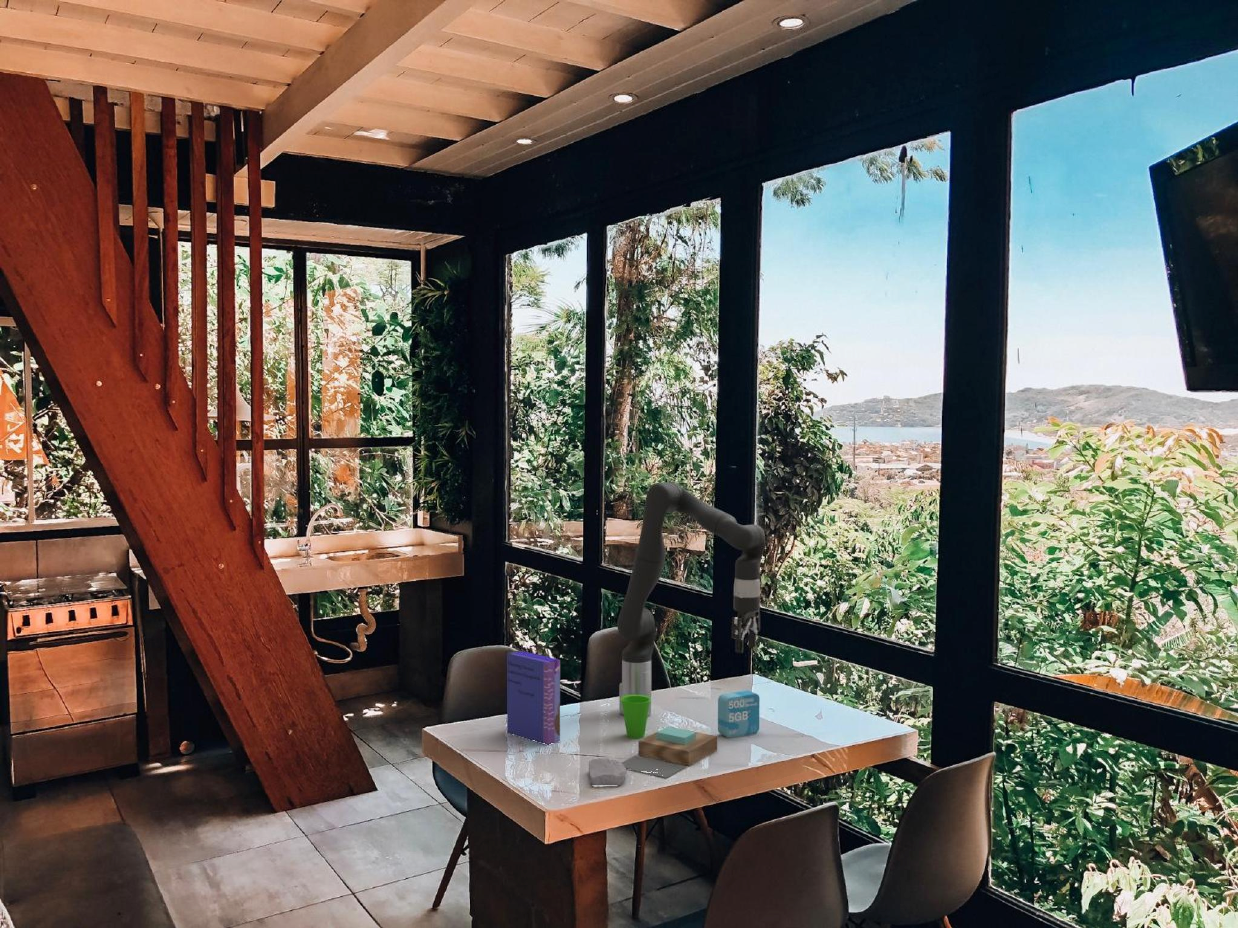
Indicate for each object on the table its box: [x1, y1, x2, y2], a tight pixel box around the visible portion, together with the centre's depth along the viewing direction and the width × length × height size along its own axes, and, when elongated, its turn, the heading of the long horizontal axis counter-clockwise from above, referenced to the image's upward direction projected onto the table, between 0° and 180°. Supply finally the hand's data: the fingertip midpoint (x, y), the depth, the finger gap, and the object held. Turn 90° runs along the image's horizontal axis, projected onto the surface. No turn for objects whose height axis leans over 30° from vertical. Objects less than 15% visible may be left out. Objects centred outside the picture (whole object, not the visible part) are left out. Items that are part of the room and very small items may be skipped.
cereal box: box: [506, 650, 561, 746], centre depth 288 cm, size 17×5×24 cm, turn 48°
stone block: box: [588, 757, 628, 786], centre depth 254 cm, size 12×5×10 cm
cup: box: [620, 695, 652, 739], centre depth 290 cm, size 9×9×11 cm
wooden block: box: [637, 726, 718, 767], centre depth 275 cm, size 16×16×4 cm
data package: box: [717, 690, 761, 739], centre depth 293 cm, size 12×4×12 cm, turn 118°
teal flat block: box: [656, 726, 697, 745], centre depth 274 cm, size 9×6×2 cm, turn 56°
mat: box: [620, 755, 687, 779], centre depth 263 cm, size 16×10×1 cm, turn 56°
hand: (745, 649), depth 286 cm, fingers open, 8 cm apart
